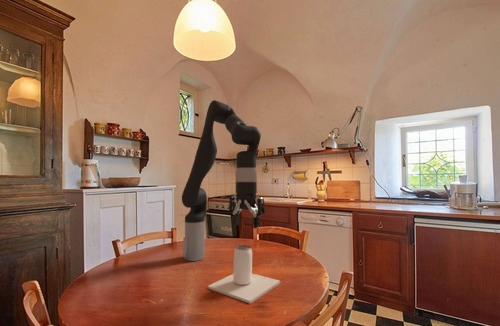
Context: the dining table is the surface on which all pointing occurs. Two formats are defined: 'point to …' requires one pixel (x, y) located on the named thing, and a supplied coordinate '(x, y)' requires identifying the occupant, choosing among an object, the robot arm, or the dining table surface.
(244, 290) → the tile mat
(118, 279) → the dining table surface
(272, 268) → the dining table surface
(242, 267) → the can
